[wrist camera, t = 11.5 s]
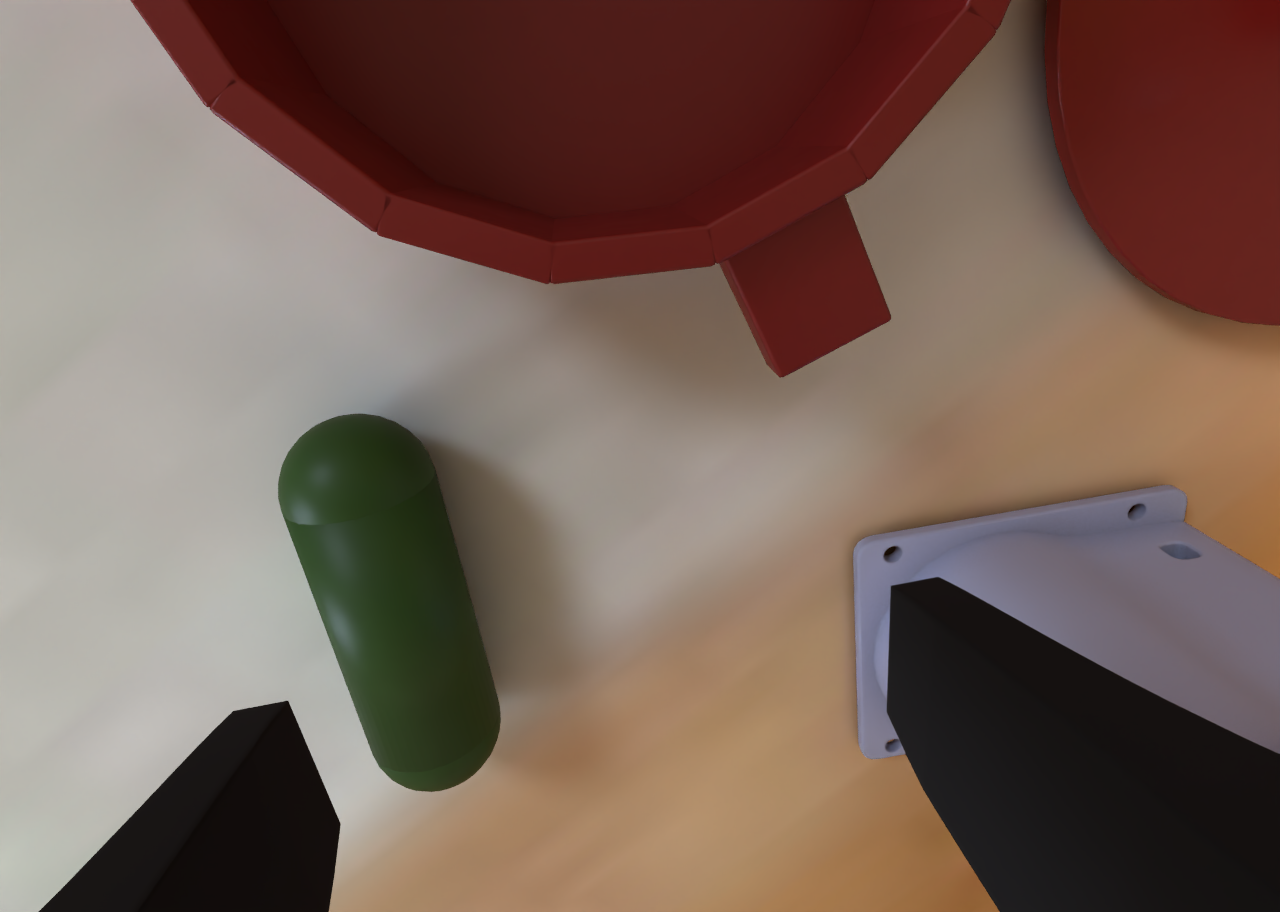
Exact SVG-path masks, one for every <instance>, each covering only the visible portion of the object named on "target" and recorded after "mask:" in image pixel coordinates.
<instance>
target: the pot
mask: <svg viewBox="0 0 1280 912" xmlns="http://www.w3.org/2000/svg"><path fill="white" fill-rule="evenodd" d="M1010 1H1011V0H131V2H132V3H133V5H134V6H135V8H136V9H137V10H138V12H139V13H140V15H141V16H142V17H143V19H144V20H145V22H146V23H147V24H148V26H149V27H150V29H151V30H152V32H153V33H154V34H155V36H156V37H157V39H158V40H159V41H160V43H161V44H162V46H163V47H164V49H165V50H166V51H167V53H168V54H169V56H170V57H171V58H172V60H173V61H174V63H175V64H176V65H177V67H178V68H179V70H180V71H181V73H182V74H183V75H184V77H185V78H186V80H187V81H188V82H189V84H190V85H191V87H192V88H193V90H194V91H195V92H196V94H197V95H198V97H199V98H200V99H201V101H202V102H203V104H204V105H206V106H207V107H210V110H211V111H212V112H213V114H215V115H216V116H217V117H219V118H220V119H221V120H223V121H224V122H226V123H227V124H228V125H230V126H231V127H232V128H234V129H235V130H236V131H238V132H239V133H240V134H242V135H243V136H244V137H246V138H247V139H248V140H250V141H251V142H252V143H254V144H255V145H257V146H258V147H259V148H261V149H262V150H263V151H265V152H266V153H267V154H269V155H270V156H271V157H273V158H274V159H275V160H277V161H278V162H279V163H281V164H282V165H283V166H285V167H286V168H287V169H289V170H290V171H292V172H293V173H294V174H296V175H297V176H298V177H300V178H301V179H302V180H304V181H305V182H306V183H308V184H309V185H310V186H312V187H313V188H314V189H316V190H317V191H318V192H320V193H321V194H323V195H324V196H325V197H327V198H328V199H329V200H331V201H332V202H333V203H335V204H336V205H337V206H339V207H340V208H341V209H343V210H344V211H345V212H347V213H348V214H349V215H351V216H352V217H353V218H355V219H356V220H358V221H359V222H360V223H362V224H363V225H364V226H366V227H367V228H368V229H370V230H371V231H373V232H377V234H378V235H379V236H382V237H385V238H389V239H392V240H396V241H399V242H403V243H406V244H409V245H413V246H416V247H420V248H423V249H427V250H430V251H434V252H437V253H441V254H444V255H448V256H451V257H455V258H458V259H462V260H465V261H468V262H472V263H475V264H479V265H482V266H486V267H489V268H493V269H496V270H500V271H503V272H507V273H510V274H514V275H517V276H521V277H524V278H528V279H531V280H534V281H538V282H541V283H545V284H549V283H550V282H551V283H553V284H559V283H568V282H577V281H586V280H594V279H603V278H612V277H621V276H630V275H639V274H648V273H656V272H665V271H674V270H683V269H692V268H701V267H710V266H713V265H715V263H717V264H718V263H719V264H720V266H721V269H722V271H723V273H724V275H725V277H726V279H727V281H728V283H729V285H730V288H731V290H732V292H733V294H734V296H735V298H736V300H737V302H738V304H739V307H740V309H741V311H742V313H743V315H744V317H745V319H746V321H747V323H748V326H749V328H750V330H751V332H752V334H753V336H754V338H755V340H756V342H757V345H758V347H759V349H760V351H761V353H762V355H763V357H764V359H765V361H766V364H767V365H768V366H769V367H770V368H771V369H772V370H773V371H774V372H775V373H776V374H777V375H778V376H779V377H785V376H786V375H788V374H790V373H792V372H794V371H796V370H798V369H800V368H802V367H803V366H805V365H807V364H809V363H811V362H813V361H815V360H817V359H819V358H820V357H822V356H824V355H826V354H828V353H830V352H832V351H834V350H836V349H837V348H839V347H841V346H843V345H845V344H847V343H849V342H851V341H853V340H854V339H856V338H858V337H860V336H862V335H864V334H866V333H868V332H870V331H871V330H873V329H875V328H877V327H879V326H881V325H883V324H885V323H887V322H888V321H890V320H891V314H890V312H889V309H888V307H887V304H886V301H885V299H884V296H883V294H882V291H881V288H880V286H879V283H878V281H877V278H876V276H875V273H874V270H873V268H872V265H871V263H870V260H869V257H868V255H867V252H866V250H865V247H864V244H863V242H862V239H861V237H860V234H859V231H858V229H857V226H856V224H855V221H854V218H853V216H852V213H851V211H850V208H849V206H848V203H847V200H846V198H845V194H847V193H849V192H850V191H852V190H854V189H856V188H858V187H859V186H861V185H863V184H864V183H865V182H866V181H867V180H869V179H871V178H872V177H873V176H874V175H875V174H876V173H877V171H878V170H879V169H880V168H881V167H882V166H883V164H884V163H885V162H886V161H887V160H888V159H889V158H890V156H891V155H892V154H893V153H894V152H895V151H896V149H897V148H898V147H899V146H900V145H901V144H902V142H903V141H904V140H905V139H906V138H907V137H908V135H909V134H910V133H911V132H912V131H913V130H914V128H915V127H916V126H917V125H918V124H919V123H920V121H921V120H922V119H923V118H924V117H925V116H926V114H927V113H928V112H929V111H930V110H931V109H932V107H933V106H934V105H935V104H936V103H937V102H938V100H939V99H940V98H941V97H942V96H943V95H944V93H945V92H946V91H947V90H948V89H949V88H950V86H951V85H952V84H953V83H954V82H955V81H956V80H957V78H958V77H959V76H960V75H961V74H962V73H963V71H964V70H965V69H966V68H967V67H968V66H969V64H970V63H971V62H972V61H973V60H974V59H975V57H976V56H977V55H978V54H979V53H980V52H981V50H982V49H983V48H984V47H985V46H986V45H987V43H988V42H989V41H990V40H991V39H992V38H993V36H994V35H995V33H996V30H997V29H998V28H999V26H1000V25H1001V22H1002V20H1003V18H1004V15H1005V13H1006V10H1007V8H1008V6H1009V3H1010Z"/></svg>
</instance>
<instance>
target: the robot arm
mask: <svg viewBox="0 0 1280 912" xmlns="http://www.w3.org/2000/svg"><path fill="white" fill-rule="evenodd" d="M1133 505H1136V506H1135V508H1134V509H1133V510H1132V511H1131V512H1130V513H1128V512H1129V510H1130V508H1131V507H1132V506H1133ZM1186 506H1187V496H1186V494H1185V493H1184V492H1183V491H1181V490H1180V489H1178V488H1176V487H1174V486H1172V485H1161V486H1155V487H1149V488H1144V489H1138V490H1132V491H1126V492H1120V493H1115V494H1109V495H1103V496H1097V497H1091V498H1086V499H1080V500H1074V501H1068V502H1063V503H1057V504H1051V505H1045V506H1039V507H1034V508H1028V509H1022V510H1016V511H1010V512H1005V513H999V514H993V515H987V516H981V517H976V518H970V519H964V520H958V521H952V522H947V523H941V524H935V525H929V526H924V527H918V528H912V529H906V530H900V531H895V532H889V533H883V534H877V535H871V536H868V537H865V538H863V539H862V540H860V541H859V542H858V543H857V545H856V546H855V548H854V552H853V567H854V603H855V640H856V677H857V714H858V744H859V747H860V749H861V751H862V753H863V755H864V756H865V757H867V758H870V759H881V758H886V757H892V756H897V755H903V754H906V755H907V757H908V759H909V761H910V763H911V765H912V767H913V769H914V771H915V774H916V776H917V778H918V780H919V782H920V784H921V786H922V788H923V790H924V791H925V793H926V795H927V796H928V798H929V800H930V801H931V803H932V804H933V806H934V808H935V809H936V811H937V813H938V814H939V816H940V817H941V819H942V821H943V822H944V824H945V825H946V827H947V829H948V830H949V832H950V833H951V835H952V837H953V838H954V840H955V842H956V843H957V845H958V846H959V848H960V850H961V851H962V853H963V854H964V856H965V858H966V859H967V861H968V862H969V864H970V865H971V867H972V869H973V870H974V872H975V873H976V875H977V876H978V878H979V880H980V881H981V883H982V884H983V886H984V888H985V889H986V891H987V892H988V894H989V895H990V897H991V899H992V900H993V902H994V903H995V905H996V906H997V908H998V910H999V911H1000V912H1280V579H1279V578H1277V577H1276V576H1274V575H1272V574H1271V573H1269V572H1267V571H1266V570H1264V569H1262V568H1261V567H1259V566H1257V565H1256V564H1254V563H1252V562H1251V561H1249V560H1247V559H1246V558H1244V557H1242V556H1241V555H1239V554H1237V553H1236V552H1234V551H1232V550H1231V549H1229V548H1227V547H1226V546H1224V545H1222V544H1221V543H1219V542H1217V541H1216V540H1214V539H1212V538H1211V537H1209V536H1207V535H1206V534H1204V533H1202V532H1201V531H1199V530H1197V529H1196V528H1194V527H1192V526H1191V525H1189V524H1187V523H1186V522H1184V518H1185V512H1186ZM892 546H896V549H895V551H894V552H893V553H892V554H890V555H884V553H885V551H886V550H887V549H888V548H890V547H892ZM892 739H894V740H893V741H891V742H888V741H890V740H892ZM340 825H341V824H340V822H339V819H338V817H337V815H336V812H335V810H334V808H333V805H332V803H331V800H330V798H329V796H328V793H327V791H326V789H325V786H324V784H323V782H322V779H321V777H320V775H319V772H318V770H317V768H316V765H315V763H314V761H313V758H312V756H311V753H310V751H309V749H308V746H307V744H306V742H305V739H304V737H303V735H302V732H301V730H300V728H299V725H298V723H297V721H296V718H295V716H294V714H293V711H292V709H291V707H290V704H289V702H288V701H284V702H279V703H273V704H268V705H263V706H258V707H252V708H247V709H242V710H237V711H233V712H232V713H231V714H230V715H229V716H228V717H227V718H226V719H225V720H224V721H223V722H222V723H221V724H220V725H219V726H217V727H216V728H215V729H214V730H213V731H212V732H211V734H210V735H209V736H208V737H207V738H206V739H205V740H204V741H203V742H202V743H201V744H200V745H199V746H198V747H197V748H196V749H195V750H194V751H193V752H192V753H191V754H190V755H189V756H188V757H187V758H186V759H185V760H184V761H183V763H182V764H181V765H180V766H179V767H178V768H177V769H176V770H175V771H174V772H173V773H172V774H171V775H170V776H169V777H168V778H167V779H166V780H165V782H164V783H163V784H162V785H161V786H160V787H159V788H158V789H157V790H156V791H155V792H154V793H153V794H152V795H151V796H150V797H149V798H148V800H147V801H146V802H145V803H144V804H143V805H142V806H141V807H140V808H139V809H138V810H137V811H136V812H135V813H134V814H133V815H132V816H131V817H130V818H129V819H128V821H127V822H126V823H125V824H124V825H123V826H122V827H121V828H120V829H119V830H118V831H117V832H116V833H115V834H114V835H113V836H112V837H111V838H110V839H109V840H108V841H107V842H106V843H105V844H104V845H103V847H102V848H101V849H100V850H99V851H98V852H97V853H96V854H95V855H94V856H93V857H92V858H91V859H90V860H89V861H88V862H87V863H86V864H85V865H84V866H83V867H82V868H81V869H80V870H79V872H78V873H77V874H76V875H75V876H74V877H73V878H72V879H71V880H70V881H69V882H68V883H67V884H66V885H65V886H64V887H63V888H62V889H61V890H60V891H59V892H58V893H57V894H56V895H55V896H54V897H53V898H52V899H51V900H50V901H49V902H48V903H47V904H46V905H45V906H44V907H43V908H42V909H41V910H40V911H39V912H329V906H330V899H331V893H332V886H333V880H334V873H335V865H336V857H337V849H338V841H339V833H340Z"/></svg>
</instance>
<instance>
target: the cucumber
mask: <svg viewBox="0 0 1280 912" xmlns="http://www.w3.org/2000/svg"><path fill="white" fill-rule="evenodd" d="M278 499H279V503H280V507H281V511H282V514H283V517H284V519H285V522H286V525H287V527H288V530H289V533H290V535H291V538H292V541H293V543H294V546H295V549H296V551H297V554H298V557H299V559H300V562H301V565H302V567H303V570H304V573H305V575H306V578H307V581H308V583H309V586H310V589H311V591H312V594H313V597H314V599H315V602H316V605H317V607H318V610H319V613H320V615H321V618H322V621H323V623H324V626H325V629H326V631H327V634H328V637H329V639H330V642H331V645H332V647H333V650H334V653H335V655H336V658H337V661H338V663H339V666H340V669H341V671H342V674H343V677H344V679H345V682H346V685H347V687H348V690H349V692H350V695H351V698H352V700H353V703H354V706H355V708H356V711H357V714H358V716H359V719H360V722H361V724H362V727H363V730H364V732H365V735H366V738H367V740H368V743H369V746H370V748H371V751H372V754H373V756H374V758H375V760H376V761H377V763H378V765H379V767H380V768H381V769H382V770H383V771H384V772H385V773H386V774H387V775H388V776H389V777H390V778H391V779H392V780H393V781H395V782H396V783H398V784H400V785H402V786H404V787H406V788H409V789H412V790H416V791H428V792H433V791H441V790H445V789H449V788H452V787H454V786H456V785H459V784H460V783H462V782H464V781H466V780H467V779H469V778H470V777H471V776H473V775H474V774H475V773H476V772H477V771H478V770H479V769H480V768H481V767H482V765H483V764H484V763H485V762H486V760H487V759H488V758H489V756H490V755H491V753H492V751H493V748H494V746H495V744H496V741H497V738H498V734H499V730H500V721H501V718H500V706H499V701H498V697H497V693H496V689H495V686H494V682H493V678H492V675H491V671H490V667H489V664H488V660H487V657H486V653H485V649H484V646H483V642H482V638H481V635H480V631H479V627H478V624H477V620H476V617H475V613H474V609H473V606H472V602H471V598H470V595H469V591H468V587H467V584H466V580H465V576H464V573H463V569H462V566H461V562H460V558H459V555H458V551H457V547H456V544H455V540H454V536H453V533H452V529H451V526H450V522H449V518H448V515H447V511H446V507H445V504H444V500H443V496H442V493H441V489H440V485H439V482H438V478H437V475H436V471H435V468H434V466H433V463H432V461H431V458H430V456H429V453H428V452H427V450H426V449H425V447H424V446H423V444H422V443H421V442H420V441H419V440H418V439H417V438H416V437H415V436H414V435H413V434H412V433H411V432H410V431H409V430H407V429H406V428H404V427H403V426H401V425H399V424H398V423H396V422H394V421H391V420H388V419H386V418H383V417H380V416H374V415H367V414H350V415H343V416H338V417H334V418H332V419H329V420H326V421H324V422H322V423H319V424H317V425H316V426H314V427H313V428H311V429H310V430H309V431H307V432H306V433H305V434H304V435H302V436H301V437H300V438H299V439H298V441H297V442H296V443H295V444H294V446H293V447H292V448H291V449H290V451H289V452H288V454H287V456H286V458H285V460H284V462H283V465H282V468H281V472H280V477H279V483H278Z"/></svg>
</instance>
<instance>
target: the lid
mask: <svg viewBox="0 0 1280 912" xmlns="http://www.w3.org/2000/svg"><path fill="white" fill-rule="evenodd" d="M1044 57H1045V73H1046V89H1047V102H1048V108H1049V113H1050V118H1051V123H1052V129H1053V134H1054V139H1055V145H1056V148H1057V151H1058V154H1059V157H1060V160H1061V163H1062V166H1063V169H1064V172H1065V175H1066V178H1067V181H1068V184H1069V187H1070V189H1071V191H1072V193H1073V195H1074V197H1075V199H1076V201H1077V203H1078V205H1079V207H1080V209H1081V211H1082V213H1083V214H1084V216H1085V218H1086V220H1087V222H1088V224H1089V225H1090V226H1091V228H1092V229H1093V230H1094V232H1095V233H1096V235H1097V236H1098V237H1099V239H1100V240H1101V241H1102V243H1103V244H1104V245H1105V247H1106V248H1107V249H1108V251H1109V252H1110V253H1111V254H1112V255H1113V256H1114V257H1115V258H1116V259H1117V260H1118V261H1119V262H1120V263H1121V264H1122V265H1123V266H1124V267H1125V268H1126V269H1127V270H1128V271H1129V272H1130V273H1131V274H1132V275H1133V276H1135V277H1136V278H1137V279H1138V280H1140V281H1141V282H1143V283H1144V284H1146V285H1147V286H1149V287H1150V288H1152V289H1153V290H1155V291H1156V292H1158V293H1159V294H1161V295H1162V296H1164V297H1166V298H1168V299H1170V300H1172V301H1175V302H1177V303H1179V304H1182V305H1184V306H1186V307H1188V308H1191V309H1193V310H1195V311H1199V312H1203V313H1206V314H1210V315H1214V316H1218V317H1222V318H1226V319H1230V320H1234V321H1238V322H1242V323H1253V324H1264V325H1276V326H1280V0H1047V6H1046V25H1045V45H1044Z"/></svg>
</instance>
